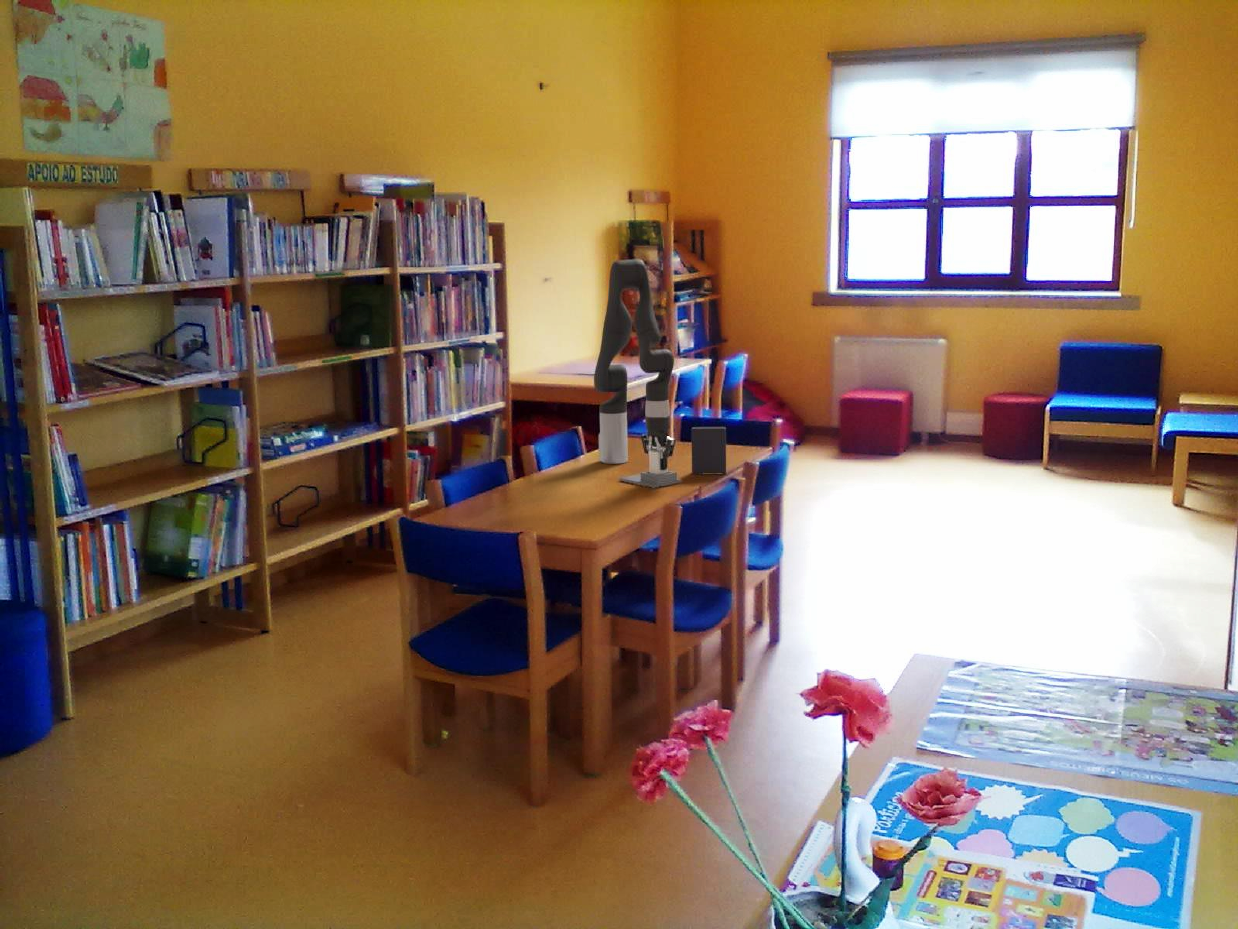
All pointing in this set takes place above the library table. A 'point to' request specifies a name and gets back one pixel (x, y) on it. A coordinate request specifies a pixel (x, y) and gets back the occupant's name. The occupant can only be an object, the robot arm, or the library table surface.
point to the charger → (655, 463)
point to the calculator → (708, 450)
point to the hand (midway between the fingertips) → (658, 468)
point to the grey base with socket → (653, 479)
